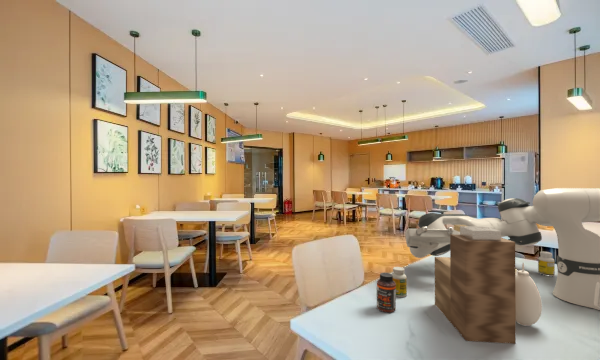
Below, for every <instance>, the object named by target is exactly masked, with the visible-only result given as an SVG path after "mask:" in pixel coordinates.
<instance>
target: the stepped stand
mask: <svg viewBox="0 0 600 360" xmlns="http://www.w3.org/2000/svg"><path fill="white" fill-rule="evenodd" d="M449 254H450V255H449V257H447V256H434V305H435V306H436V308H437V309H438V310H439V311H440V313H442V315H443V316H444V317H445V318H446V319H447V320H448V322H449V323H450V324H451V325H452V326H453V327H454V329H455V330H456V331H457V332H458V333H459V334H460V335H461V337H462V338H463V339H464V340H465V341H466V342H478V343H480V342H481V343H495V344H497V343H499V344H511V345H515V344H517V343H516V342H517V341H516V339H517V333H516V332H517V330H516V327H517V326H516V323H517V322H516V298H515V275H516V244H515V242H513V241H511V240H508V239H507V238H504V237H501V241H492V240H471V239H469V238H466V237H464V236H462V235H457V234H450V251H449Z"/></svg>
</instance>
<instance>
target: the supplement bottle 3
mask: <svg viewBox="0 0 600 360" xmlns="http://www.w3.org/2000/svg"><path fill="white" fill-rule="evenodd" d="M539 254H540V256H539V257H538V258H537V269H538V270H537V272H538V273H537V274H539V273H540V274H539V275H541V274H543V275H542V276H544V275H549V276H553V277H555V276H554V275H556V274H555V273H556V272H555V267H556V265H555V263H556V261H555V259H554V258H553V253H552V252H551V251H550V252H549V251H539ZM549 276H548V277H549Z"/></svg>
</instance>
